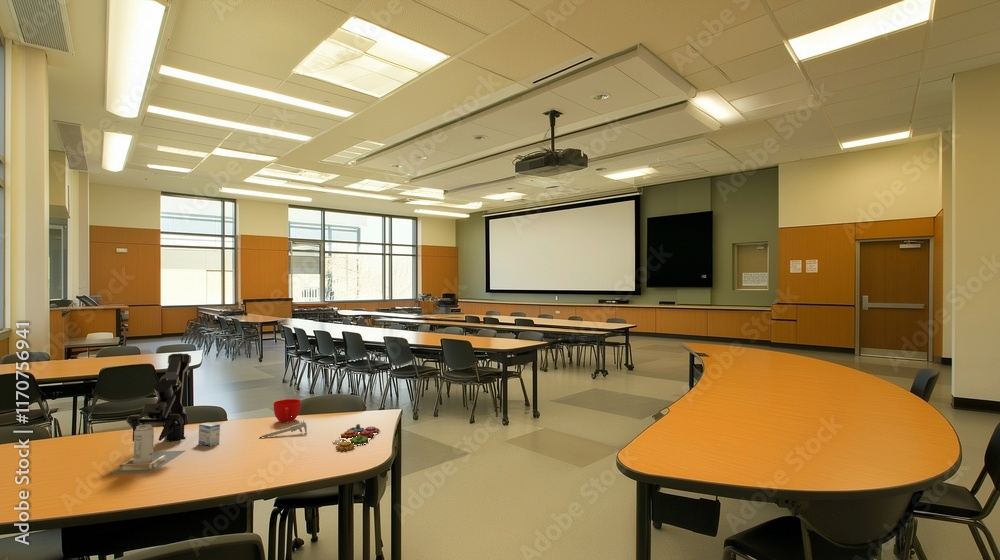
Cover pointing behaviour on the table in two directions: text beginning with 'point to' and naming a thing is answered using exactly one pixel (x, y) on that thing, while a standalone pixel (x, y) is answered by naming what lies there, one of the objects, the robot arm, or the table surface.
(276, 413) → the ceramic cup
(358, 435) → the gear puzzle
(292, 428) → the caliper
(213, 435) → the medicine box
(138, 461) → the energy drink can
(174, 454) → the mat
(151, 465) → the pocket
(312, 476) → the table surface
